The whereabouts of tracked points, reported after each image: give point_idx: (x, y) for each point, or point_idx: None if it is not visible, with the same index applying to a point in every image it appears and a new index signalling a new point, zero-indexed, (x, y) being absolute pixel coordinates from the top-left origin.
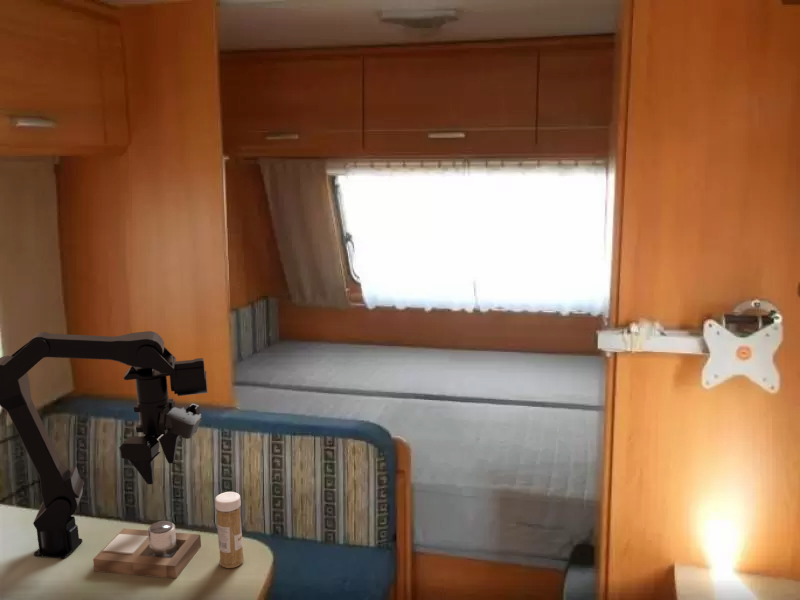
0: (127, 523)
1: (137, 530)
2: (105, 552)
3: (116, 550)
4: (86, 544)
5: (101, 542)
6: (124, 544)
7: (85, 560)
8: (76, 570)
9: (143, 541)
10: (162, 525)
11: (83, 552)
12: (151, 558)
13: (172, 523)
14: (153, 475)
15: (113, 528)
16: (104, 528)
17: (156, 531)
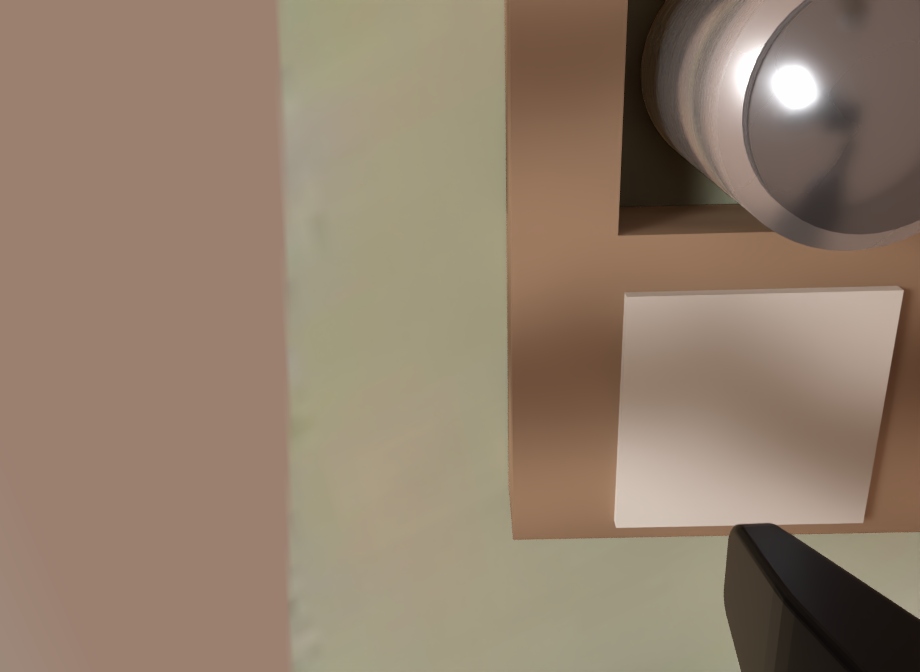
0: (296, 569)
1: (527, 428)
2: (869, 494)
3: (866, 429)
4: (595, 669)
5: (559, 603)
6: (775, 415)
7: None
8: (896, 579)
9: (714, 293)
10: (862, 103)
11: (688, 641)
12: None
13: (761, 20)
14: (842, 618)
15: (379, 618)
16: (391, 666)
17: None
